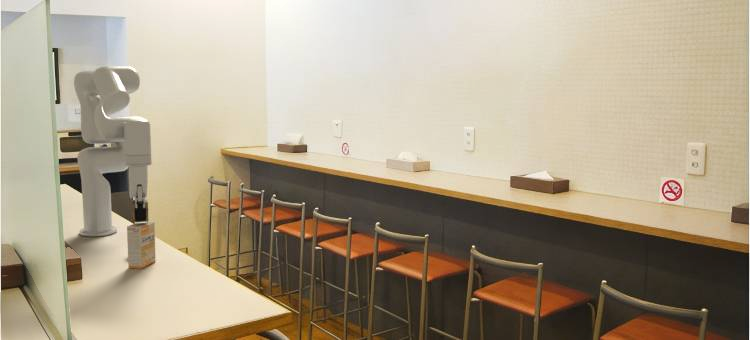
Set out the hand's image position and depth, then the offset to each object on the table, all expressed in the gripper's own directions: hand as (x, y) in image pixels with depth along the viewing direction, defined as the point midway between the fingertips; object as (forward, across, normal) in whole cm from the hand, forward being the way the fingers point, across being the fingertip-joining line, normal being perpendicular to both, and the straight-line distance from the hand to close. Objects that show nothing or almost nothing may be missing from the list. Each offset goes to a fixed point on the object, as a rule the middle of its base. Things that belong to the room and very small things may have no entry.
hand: (140, 218), depth 196 cm
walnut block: (+1, 0, 0) cm, 1 cm away
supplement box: (+15, 0, 0) cm, 15 cm away
